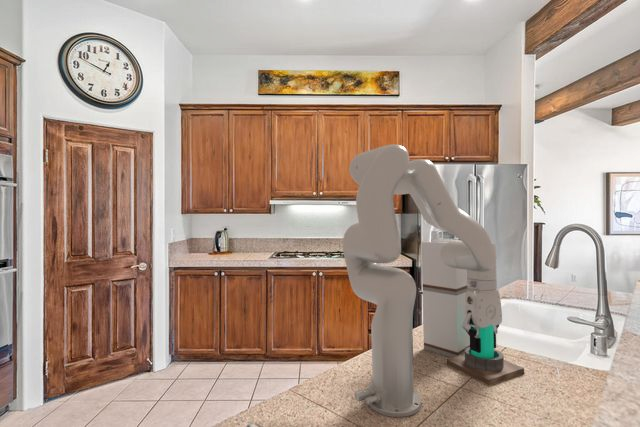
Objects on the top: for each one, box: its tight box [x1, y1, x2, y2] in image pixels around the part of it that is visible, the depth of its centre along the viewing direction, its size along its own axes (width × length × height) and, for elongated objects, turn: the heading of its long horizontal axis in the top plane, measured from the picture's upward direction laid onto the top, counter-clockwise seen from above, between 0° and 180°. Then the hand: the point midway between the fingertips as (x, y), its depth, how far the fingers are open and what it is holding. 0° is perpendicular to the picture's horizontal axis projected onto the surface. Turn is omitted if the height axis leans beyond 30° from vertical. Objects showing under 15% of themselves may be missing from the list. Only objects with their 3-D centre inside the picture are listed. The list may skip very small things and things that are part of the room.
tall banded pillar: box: [420, 239, 470, 358], centre depth 109 cm, size 11×11×35 cm
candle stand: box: [446, 347, 525, 386], centre depth 95 cm, size 14×14×4 cm
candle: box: [471, 323, 494, 359], centre depth 95 cm, size 6×6×12 cm
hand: (483, 348), depth 95 cm, fingers closed on candle, 5 cm apart
